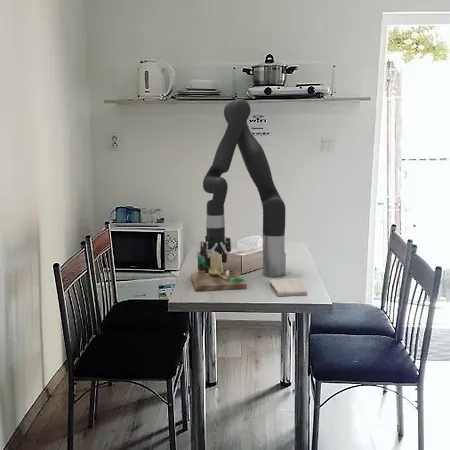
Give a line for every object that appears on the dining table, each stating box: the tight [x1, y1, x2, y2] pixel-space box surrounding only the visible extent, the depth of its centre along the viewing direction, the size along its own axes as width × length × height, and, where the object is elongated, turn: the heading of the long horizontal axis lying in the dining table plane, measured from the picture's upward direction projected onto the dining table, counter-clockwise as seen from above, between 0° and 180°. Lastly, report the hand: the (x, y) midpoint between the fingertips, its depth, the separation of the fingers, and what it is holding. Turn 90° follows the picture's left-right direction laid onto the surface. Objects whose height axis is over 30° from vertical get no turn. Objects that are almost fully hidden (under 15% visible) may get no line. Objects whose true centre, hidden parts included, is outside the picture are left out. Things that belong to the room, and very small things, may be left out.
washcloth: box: [269, 278, 308, 297], centre depth 237 cm, size 12×18×3 cm, turn 7°
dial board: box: [190, 271, 248, 292], centre depth 246 cm, size 20×19×4 cm
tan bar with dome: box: [209, 251, 230, 281], centre depth 247 cm, size 15×6×9 cm, turn 27°
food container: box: [196, 249, 211, 274], centre depth 263 cm, size 12×6×10 cm, turn 168°
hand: (216, 264), depth 251 cm, fingers open, 8 cm apart
